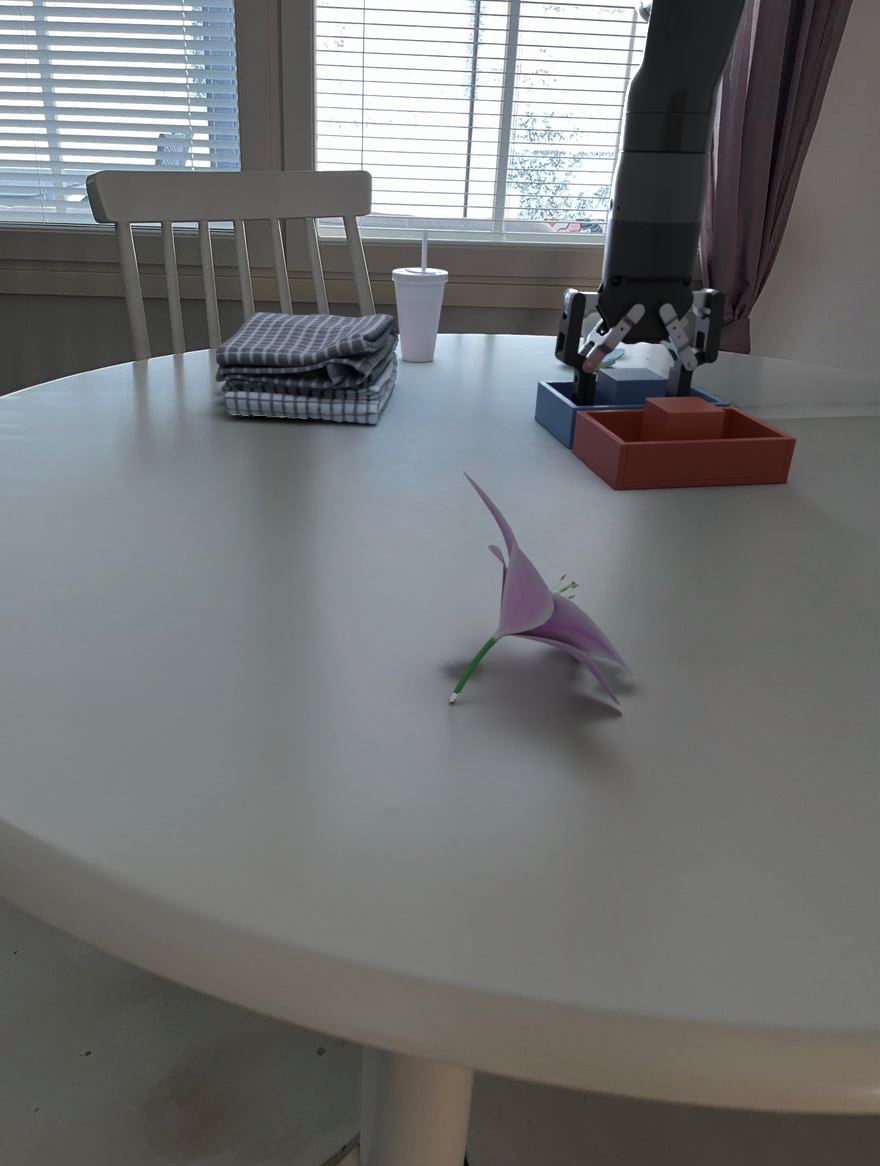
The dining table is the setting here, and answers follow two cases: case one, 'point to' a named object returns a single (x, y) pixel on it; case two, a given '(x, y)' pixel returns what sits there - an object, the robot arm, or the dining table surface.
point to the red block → (680, 419)
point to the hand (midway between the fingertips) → (628, 412)
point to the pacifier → (587, 328)
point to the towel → (310, 366)
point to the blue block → (628, 386)
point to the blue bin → (583, 407)
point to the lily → (541, 610)
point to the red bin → (681, 452)
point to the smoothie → (419, 307)
